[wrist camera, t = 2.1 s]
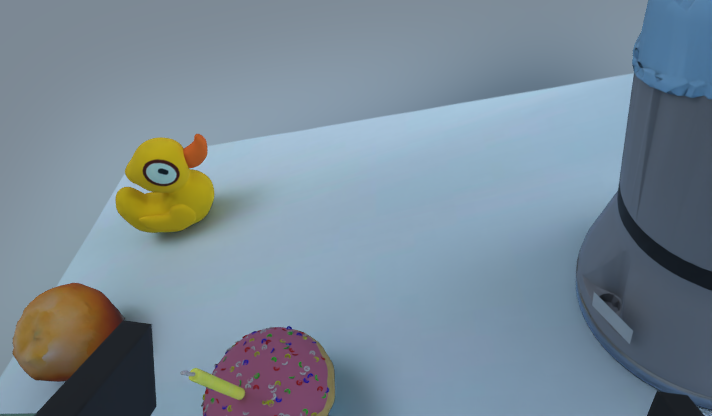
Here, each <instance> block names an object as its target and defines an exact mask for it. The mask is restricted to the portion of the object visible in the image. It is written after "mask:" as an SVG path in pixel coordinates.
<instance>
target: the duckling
mask: <svg viewBox="0 0 712 416" xmlns="http://www.w3.org/2000/svg"><path fill="white" fill-rule="evenodd" d="M206 156H207V143H206V140H205V138H204V137H203V136H202V135H200V134H196V135H195V137H194V141H193V142H192V143H191V144H190V145H189V146H187V147H186V148H183V147H182V146H181V144H179V143H178V142H176V141H175V140H173V139H169V138H153V139H150V140H148V141H145V142H144V143H142V144H141V145H140V146H139V147H138V148H137V150H136V151H135V153H134V155H133V157H132V159H131V160H130V162H129V163H128V165H127V167H126V169H125V174H126V176H127V178H128V179H129V180H130V181H131V182H133V183H135V184H137V185H139V186H141V187H142V188H144V189H146V190H149V191H152V192H151V193H146V194H144V193H142V192H140V191H138V190H136V189H134V188H132V187H124V188H121V189H120V190H119V191H118V192H117V195H116V208H117V211H118V213H119V214H120V215H121V216H122V217H123V218H124V219H125V220H126V221H127V222H128V223H129V224H131V225H132V226H133V227H135V228H136V229H138V230H141V231H144V232H151V233H157V232H176V231H181V230H184V229H185V228H187V227H189V226H190V225H192V224H195V223H197V222H199V221H201V220H202V219H203V218H204V217H205V216H206V215H207V214H208V212H209V210H210V208H211V206H212V203H213V200H214V188H213V184H212V182H211V180H210V178H209V177H208V176H206V175H205V174H203V173H202V172H199V171H197V170H191V169H189V168H194V167H196V166H198V165H200V164H201V163H202V162H203V161H204V159H205V158H206Z"/></svg>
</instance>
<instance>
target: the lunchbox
mask: <svg viewBox="0 0 712 416" xmlns="http://www.w3.org/2000/svg"><path fill="white" fill-rule="evenodd" d="M35 414H36V413H34V414H0V416H34V415H35Z"/></svg>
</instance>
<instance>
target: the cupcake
mask: <svg viewBox="0 0 712 416" xmlns="http://www.w3.org/2000/svg"><path fill="white" fill-rule="evenodd" d="M235 343H236V344H235V345H233V346H232V347H231V348H230V349H227V352H226V353H225V356H224V357H223V358H222V360H221V361H220V362H219V363H218V364H215V369H214V371H213V373H212V375H211V374H209V373H207V372H205V371H202V370H200V369H198V368H194V369H192V370H191V371H190V372H189V371H182V372H181V375H187V376H189V379H190V380H191V381H193V382H195V383H198V384H200V385H203V386H205V387H206V391H205V394H204V395H203V400H204V401H203V403H202V405H201V407H202V406H203V416H328V413H329V411H330V409H331V407H332V405H333V403H334V400H335V376H334V367H333V364H332V362H331V360H330V358H329V357H328V355H327V353H326V352H325V350H324V348H323V347H322V346H321V344H320V343H319V342H317V341H316V340H315V339H313V338H312V337H311V336H309V335H307V334H306V333H304V332H301V331H298V330H294V329H292V328H291V327H290V326H288V327H287V328H283V327H269V328H266V329H263V330H260V331H254V332H253V333H250V334H248V335H245V336H244V337H243V339H242V340H240V341H237V342H235Z"/></svg>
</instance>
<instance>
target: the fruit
mask: <svg viewBox="0 0 712 416" xmlns="http://www.w3.org/2000/svg"><path fill="white" fill-rule="evenodd" d="M124 319H125V318H124V317H123V316H122V315H121V314H120V312H119V311H118V309H117V308H116V307H115V306H114V305H113V304H112V303H111V302H110V300H109V299H108V298H107V297H106V296H105V295H104V294H103V293H102V292H100V291H98V290H96V289H93V288H91V287H88V286H85V285H83V284H79V283H71V284H66V285H62V286H58V287H55V288H52V289H50V290H47V291H45V292H44V293H42V294H40V295H39V296H37V297H36V298H35V299H34V300H33V301H32V302H30V303H29V305H28V306H27V307H26V308H25V309H24V311H23V314H22V316H21V318H20V320H19V321H18V322H17V325H16V330H15V334H14V337H13V346H14V349H13V355H14V357H15V358H16V360H17V361H18V363H19V365H20V366H21V367H22V368H23V370H24V371H25V372H26V373H27V374H28V375H29V376H30V377H32V378H33V379H35V380H43V381H58V382H59V381H67V380H68V379H69V378H70V377H71V376H72V375H73V373H74V372H75V371H76V370H77V369H78V368H79V367H80V366H81V365H82V364H83V363H84V362H85V361H86V360H87V359H88V357H89V356H90V355H91V354H92V353H93V352H94V351H95V350H96V349H97V348H98V347H99V346H100V345H101V344H102V342H103V341H104V340H105V339H106V338H107V337H108V336H109V335H110V334H111V333H112V332H113V331H114V330H115V329H116V327H117V326H118V325H119V324H120V323H121V322H122V321H124Z"/></svg>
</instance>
